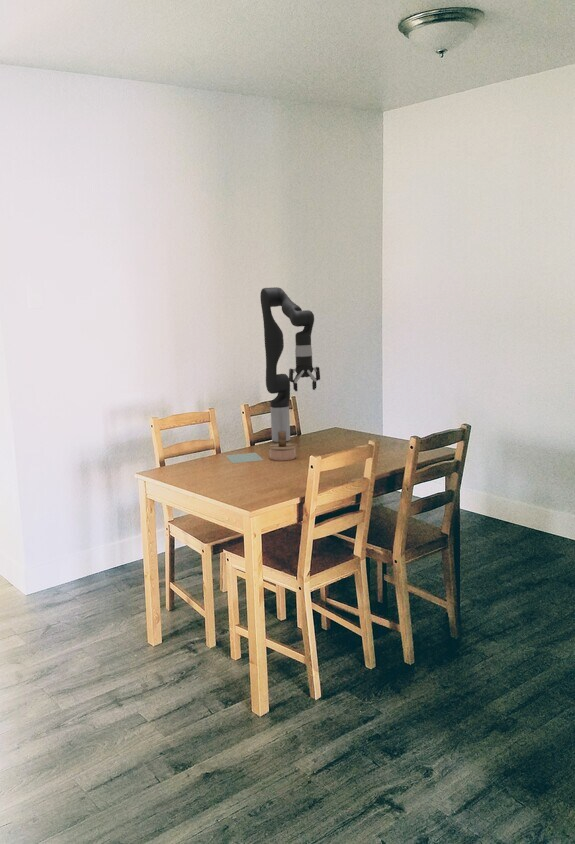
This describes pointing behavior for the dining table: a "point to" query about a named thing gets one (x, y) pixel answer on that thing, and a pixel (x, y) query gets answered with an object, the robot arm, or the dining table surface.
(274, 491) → the dining table surface
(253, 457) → the mat
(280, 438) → the lid
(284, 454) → the bowl
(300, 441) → the dining table surface
